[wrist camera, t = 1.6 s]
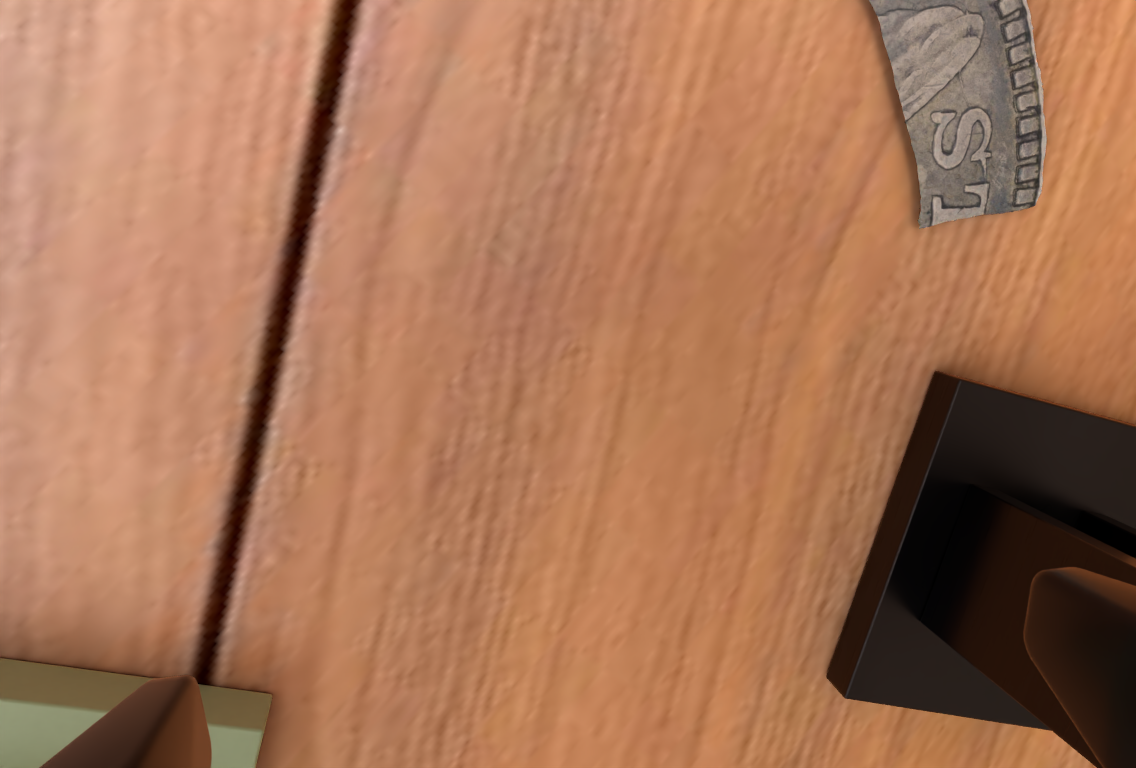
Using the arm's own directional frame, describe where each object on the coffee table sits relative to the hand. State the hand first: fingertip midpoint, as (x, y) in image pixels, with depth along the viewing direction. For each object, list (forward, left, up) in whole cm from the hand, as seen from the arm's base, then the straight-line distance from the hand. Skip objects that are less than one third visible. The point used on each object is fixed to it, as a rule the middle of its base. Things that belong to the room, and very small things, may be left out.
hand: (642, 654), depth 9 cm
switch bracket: (-2, -16, -14) cm, 22 cm away
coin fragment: (+12, -8, -14) cm, 20 cm away
